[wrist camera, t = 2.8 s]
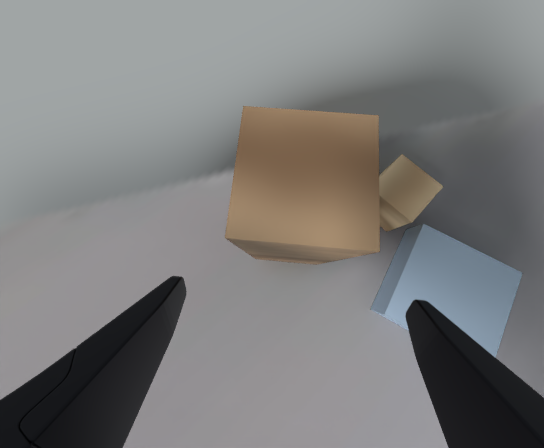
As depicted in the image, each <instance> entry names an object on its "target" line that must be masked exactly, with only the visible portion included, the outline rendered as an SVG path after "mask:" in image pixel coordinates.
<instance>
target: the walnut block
mask: <svg viewBox="0 0 544 448" xmlns="http://www.w3.org/2000/svg"><path fill="white" fill-rule="evenodd" d="M378 124H379V117H378V115H365V114H351V113H336V112H321V111H305V110H292V109H278V108H263V107H248V106H243V112H242V119H241V126H240V134H239V140H238V148H237V155H236V162H235V169H234V176H233V183H232V191H231V198H230V205H229V212H228V219H227V226H226V234H225V238H226V239H227V240H229V241H230V242H232V243H233V244H235V245H236V246H238V247H239V248H240V249H242V250H243V251H245V252H246V253H248V254H249V255H251V256H252V257H254V258H255V259H262V260H273V261H284V262H294V263H305V264H316V265H317V264H322V263H327V262H332V261H337V260H342V259H347V258H352V257H357V256H362V255H367V254H372V253H377V252H380V213H379V125H378Z"/></svg>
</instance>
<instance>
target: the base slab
mask: <svg viewBox="0 0 544 448" xmlns="http://www.w3.org/2000/svg"><path fill="white" fill-rule="evenodd" d="M522 274H523V273H522V272H520V271H518V270H516V269H514V268H512V267H510V266H508V265H506V264H504V263H502V262H500V261H498V260H496V259H494V258H492V257H490V256H488V255H486V254H484V253H482V252H480V251H478V250H476V249H474V248H472V247H470V246H468V245H466V244H464V243H462V242H460V241H458V240H456V239H454V238H452V237H450V236H448V235H446V234H444V233H442V232H440V231H438V230H436V229H433V228H431V227H429V226H427V225H425V224H421V225H418V226H415V227H412V228H409V229H406V231H405V233H404V235H403V237H402V240H401V242H400V244H399V246H398V249H397V251H396V253H395V255H394V258H393V260H392V262H391V264H390V267H389V269H388V271H387V273H386V276H385V278H384V280H383V282H382V285H381V287H380V289H379V291H378V294H377V296H376V298H375V300H374V303H373V305H372V307H371V310H372V311H374V312H376V313H378V314H380V315H381V316H383V317H385V318H387V319H388V320H390V321H392V322H394V323H396V324H397V325H399V326H401V327H403V328H404V329H406V330H408V331H409V329H408V326H407V322H406V317H405V315H406V311H407V310H408V308H409V306H410V305H411V303H412V301H413V300H415V299H418V300H426V301H428V302H429V303H430V304H432V305H433V306H434V307H435V308H436V309H438V310H439V311H440V312H441V313H442V314H444V315H445V316H446V317H447V318H448V319H450V320H451V321H452V322H453V323H454V324H456V325H457V326H458V327H459V328H460V329H462V330H463V331H464V332H465V333H466V334H468V335H469V336H470V337H471V338H472V339H474V340H475V341H476V342H477V343H478V344H480V345H481V346H482V347H483V348H484V349H486V350H487V351H488V352H489V353H490V354H492V355H493V356H494V357H496V354H497V351H498V348H499V345H500V342H501V339H502V336H503V332H504V329H505V326H506V323H507V320H508V317H509V314H510V311H511V308H512V305H513V301H514V298H515V295H516V292H517V289H518V286H519V283H520V280H521V277H522Z"/></svg>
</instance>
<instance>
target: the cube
mask: <svg viewBox="0 0 544 448" xmlns="http://www.w3.org/2000/svg"><path fill="white" fill-rule="evenodd" d="M442 188H443V186H442V185H441V184H440V183H438V182H437V181H436V180H435V179H433V178H432V177H431V176H429V175H428V174H427V173H426V172H424V171H423V170H422V169H420V168H419V167H418V166H417V165H415V164H414V163H413V162H412V161H410V160H409V159H408V158H406V157H405V156H404V155H403V154H401V155H400V156H399V157H398V158H397V159H396V160H395V161H394V162H393V163H392V164H391V165H390V166H389V167H388V168H386V169H385V170H384V171H383V172H382V173H381V174H380V175H379V213H380V227H382V228H383V229H384V230H385V231H386V232H387V231H390V230H393V229H396V228H398V227H401V226H404V225H406V224H409V223H412V222H413V221H414V220H415V219H416V217H417V216H418V215H419V214H420V213H421V212H422V211H423V209H424V208H425V207H426V206H427V205H428V204H429V202H430V201H431V200H432V199H433V198H434V197H435V196H436V194H437V193H438V192H439V191H440V190H441V189H442Z"/></svg>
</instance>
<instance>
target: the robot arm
mask: <svg viewBox="0 0 544 448" xmlns="http://www.w3.org/2000/svg"><path fill="white" fill-rule="evenodd" d="M185 297H186V287H185V282H184V279H183V277H179V276H172V277H170V278H169V279H167V280H166V281H165V282H163V283H162V284H161V285H159V286H158V287H156V288H155V289H154V290H152V291H151V292H150V293H148V294H147V295H146V296H144V297H143V298H142V299H140V300H139V301H138V302H136V303H135V304H134V305H132V306H131V307H130V308H128V309H127V310H125V311H124V312H123V313H121V314H120V315H119V316H117V317H116V318H115V319H113V320H112V321H111V322H109V323H108V324H107V325H105V326H104V327H103V328H101V329H100V330H99V331H97V332H96V333H94V334H93V335H92V336H90V337H89V338H88V339H86V340H85V341H84V342H82V343H81V344H80V345H78V346H77V348H76V349H73V350H71V351H70V352H69V353H67V354H66V355H65V356H63V357H62V358H61V359H59V360H58V361H57V362H55V363H54V364H52V365H51V366H50V367H48V368H47V369H45V370H44V371H43V372H41V373H40V374H38V375H37V376H35V377H34V378H32V379H31V380H29V381H28V382H27V383H25V384H24V385H22V386H21V387H19V388H18V389H16V390H15V391H13V392H12V393H10V394H9V395H7V396H6V397H4V398H3V399H1V400H0V448H123V446H124V443H125V441H126V439H127V437H128V434H129V432H130V430H131V428H132V425H133V423H134V421H135V419H136V417H137V414H138V412H139V410H140V408H141V405H142V403H143V401H144V399H145V396H146V394H147V392H148V390H149V387H150V385H151V383H152V381H153V379H154V376H155V374H156V372H157V370H158V367H159V365H160V363H161V361H162V358H163V356H164V354H165V352H166V350H167V347H168V345H169V343H170V341H171V338H172V336H173V333H174V331H175V328H176V325H177V322H178V319H179V316H180V313H181V309H182V306H183V303H184V300H185ZM405 317H406V322H407V326H408V329H409V333H410V337H411V341H412V345H413V349H414V353H415V356H416V360H417V362H418V365H419V368H420V371H421V374H422V376H423V379H424V382H425V385H426V387H427V390H428V393H429V395H430V398H431V401H432V404H433V406H434V409H435V412H436V415H437V417H438V420H439V423H440V426H441V428H442V431H443V434H444V436H445V439H446V442H447V445H448V447H449V448H544V398H543V397H542V396H541V395H540V394H538V393H537V392H536V391H535V390H534V389H532V388H531V387H530V386H529V385H528V384H526V383H525V382H524V381H523V380H522V379H520V378H519V377H518V376H517V375H516V374H514V373H513V372H512V371H511V370H510V369H508V368H507V367H506V366H505V365H504V364H502V363H501V362H500V361H499V360H498V359H496V358H495V357H494V356H493V355H492V354H490V353H489V352H488V351H487V350H486V349H484V348H483V347H482V346H481V345H480V344H478V343H477V342H476V341H475V340H474V339H472V338H471V337H470V336H469V335H468V334H466V333H465V332H464V331H463V330H462V329H460V328H459V327H458V326H457V325H456V324H454V323H453V322H452V321H451V320H450V319H448V318H447V317H446V316H445V315H444V314H442V313H441V312H440V311H439V310H438V309H436V308H435V307H434V306H433V305H432V304H430V303H429V302H428V301H426V300H418V299H415V300H413V301H412V303H411V305H410V306H409V308H408V310H407V311H406V315H405Z"/></svg>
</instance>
